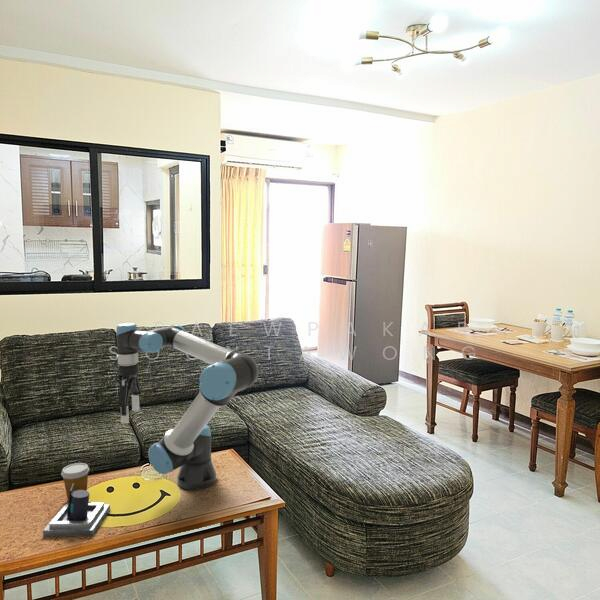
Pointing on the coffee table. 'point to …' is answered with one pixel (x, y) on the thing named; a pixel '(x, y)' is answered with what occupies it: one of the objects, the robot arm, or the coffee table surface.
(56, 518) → the white square tray
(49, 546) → the coffee table surface
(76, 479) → the disposable coffee cup
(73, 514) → the speaker
